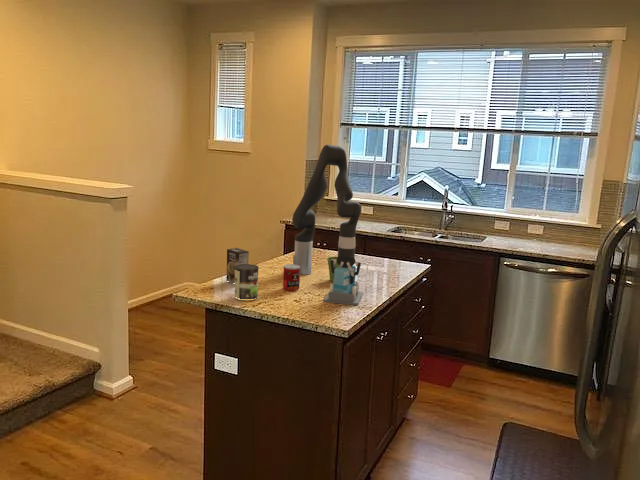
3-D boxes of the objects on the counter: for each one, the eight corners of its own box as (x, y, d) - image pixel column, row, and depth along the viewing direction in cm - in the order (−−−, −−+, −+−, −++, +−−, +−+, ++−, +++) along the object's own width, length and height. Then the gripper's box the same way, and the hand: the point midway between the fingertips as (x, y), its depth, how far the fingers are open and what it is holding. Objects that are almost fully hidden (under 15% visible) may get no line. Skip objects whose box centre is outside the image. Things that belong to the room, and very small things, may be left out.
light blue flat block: (341, 296, 243) (343, 270, 240) (332, 294, 245) (334, 268, 243) (354, 290, 253) (356, 265, 251) (345, 289, 255) (347, 263, 253)
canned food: (287, 291, 255) (288, 268, 253) (280, 287, 262) (281, 264, 260) (302, 290, 258) (303, 267, 256) (294, 286, 265) (295, 263, 263)
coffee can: (262, 297, 244) (263, 266, 241) (247, 302, 235) (248, 270, 233) (244, 293, 249) (245, 262, 247) (229, 298, 241) (229, 266, 238)
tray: (323, 301, 242) (324, 286, 241) (331, 291, 259) (331, 276, 258) (357, 305, 239) (358, 289, 238) (362, 294, 257) (363, 279, 255)
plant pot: (353, 281, 279) (355, 259, 277) (338, 285, 270) (339, 262, 268) (336, 276, 287) (337, 255, 285) (320, 280, 278) (321, 258, 276)
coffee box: (225, 281, 266) (226, 249, 264) (236, 279, 271) (237, 247, 268) (237, 286, 260) (238, 252, 257) (248, 283, 265) (249, 250, 262)
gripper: (329, 246, 243) (327, 283, 246) (361, 249, 240) (359, 287, 243) (332, 243, 250) (330, 279, 253) (363, 246, 247) (361, 282, 250)
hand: (344, 283), depth 248 cm, fingers closed on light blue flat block, 5 cm apart
